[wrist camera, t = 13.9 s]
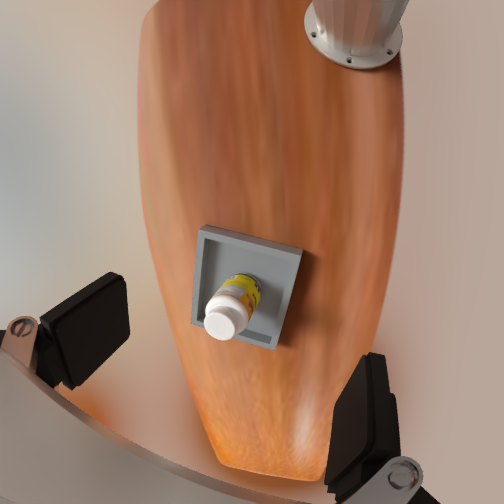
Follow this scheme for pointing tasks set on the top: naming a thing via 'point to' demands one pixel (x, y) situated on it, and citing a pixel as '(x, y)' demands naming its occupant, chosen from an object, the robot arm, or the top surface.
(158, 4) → the top surface
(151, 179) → the top surface
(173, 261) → the top surface
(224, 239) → the tray
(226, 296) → the supplement bottle
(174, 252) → the top surface
